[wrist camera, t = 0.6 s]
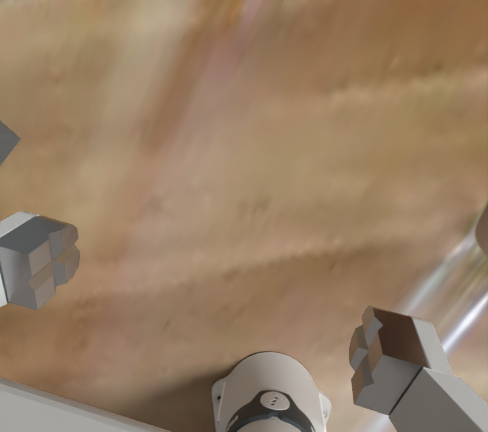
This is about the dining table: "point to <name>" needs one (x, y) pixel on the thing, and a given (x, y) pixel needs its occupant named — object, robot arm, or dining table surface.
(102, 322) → the dining table surface
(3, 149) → the cabinet stand
